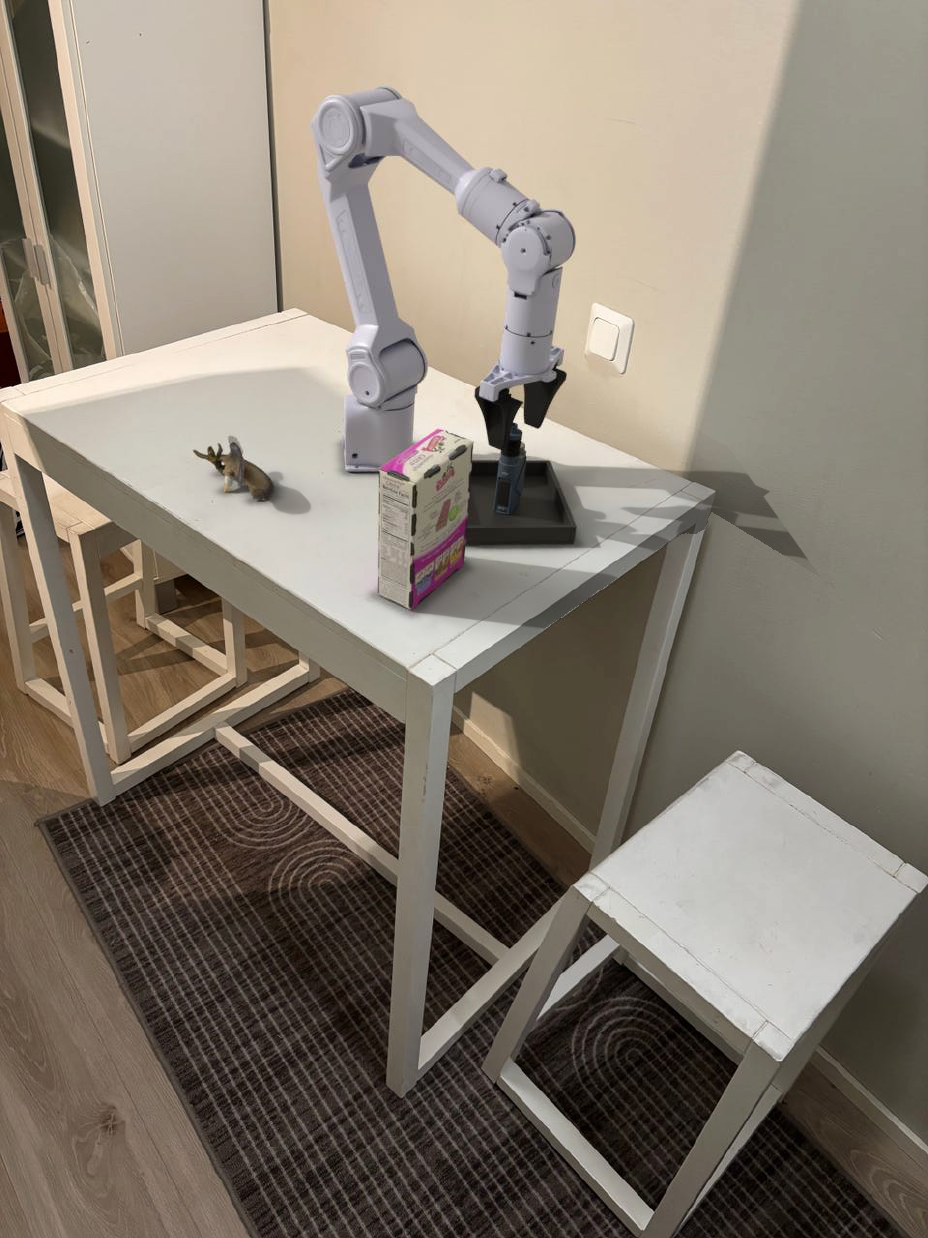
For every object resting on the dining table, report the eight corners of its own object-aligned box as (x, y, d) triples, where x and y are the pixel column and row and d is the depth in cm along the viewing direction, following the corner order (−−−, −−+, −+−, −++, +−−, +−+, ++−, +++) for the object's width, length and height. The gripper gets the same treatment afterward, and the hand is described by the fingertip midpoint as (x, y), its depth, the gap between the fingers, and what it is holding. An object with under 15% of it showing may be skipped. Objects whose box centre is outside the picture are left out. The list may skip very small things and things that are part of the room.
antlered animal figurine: (184, 481, 120) (235, 495, 115) (197, 425, 119) (249, 436, 114) (229, 492, 126) (278, 505, 122) (241, 438, 126) (291, 450, 121)
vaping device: (490, 512, 121) (499, 426, 114) (504, 493, 125) (514, 408, 117) (509, 517, 120) (520, 431, 113) (523, 498, 124) (534, 413, 117)
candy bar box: (429, 550, 114) (438, 425, 104) (465, 566, 112) (477, 440, 102) (373, 595, 107) (376, 465, 96) (410, 613, 105) (418, 482, 94)
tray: (459, 545, 116) (461, 528, 114) (443, 476, 128) (444, 459, 126) (574, 544, 118) (577, 527, 116) (547, 476, 130) (549, 460, 129)
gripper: (522, 356, 102) (508, 469, 110) (592, 320, 111) (574, 427, 119) (468, 336, 105) (459, 447, 113) (541, 303, 114) (527, 408, 122)
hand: (515, 435), depth 116 cm, fingers open, 7 cm apart
